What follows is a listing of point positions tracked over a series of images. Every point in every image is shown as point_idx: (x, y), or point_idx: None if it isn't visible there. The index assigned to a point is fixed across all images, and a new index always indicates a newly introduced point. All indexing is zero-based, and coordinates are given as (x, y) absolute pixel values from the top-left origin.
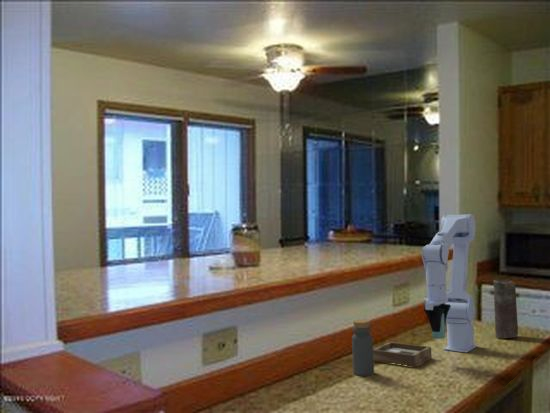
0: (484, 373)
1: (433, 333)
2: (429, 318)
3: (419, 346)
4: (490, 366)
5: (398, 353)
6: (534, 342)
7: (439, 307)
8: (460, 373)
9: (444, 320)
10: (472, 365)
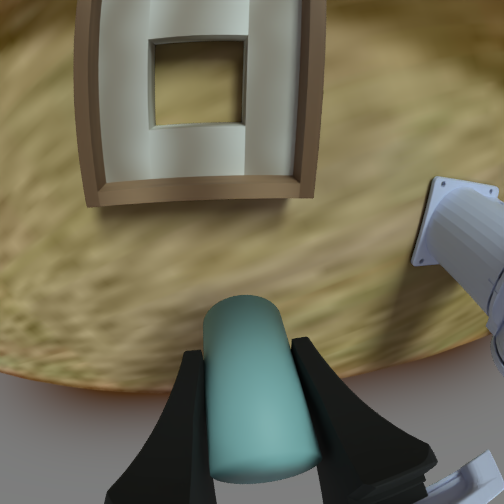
0: None
1: (207, 334)
2: (151, 440)
3: (303, 132)
4: None
5: (77, 112)
6: None
7: (337, 498)
8: (155, 336)
9: None
10: None
